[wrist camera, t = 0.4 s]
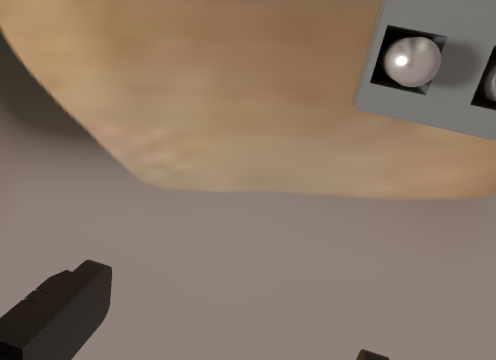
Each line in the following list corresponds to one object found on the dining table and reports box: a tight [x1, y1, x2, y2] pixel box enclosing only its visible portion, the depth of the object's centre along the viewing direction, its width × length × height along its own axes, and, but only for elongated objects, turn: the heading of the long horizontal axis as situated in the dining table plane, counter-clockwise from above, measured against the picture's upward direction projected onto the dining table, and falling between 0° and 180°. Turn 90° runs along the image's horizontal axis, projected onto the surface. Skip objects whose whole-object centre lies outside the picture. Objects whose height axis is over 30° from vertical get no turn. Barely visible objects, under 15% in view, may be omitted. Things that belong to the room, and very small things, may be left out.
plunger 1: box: [381, 37, 441, 87], centre depth 26 cm, size 3×3×6 cm
